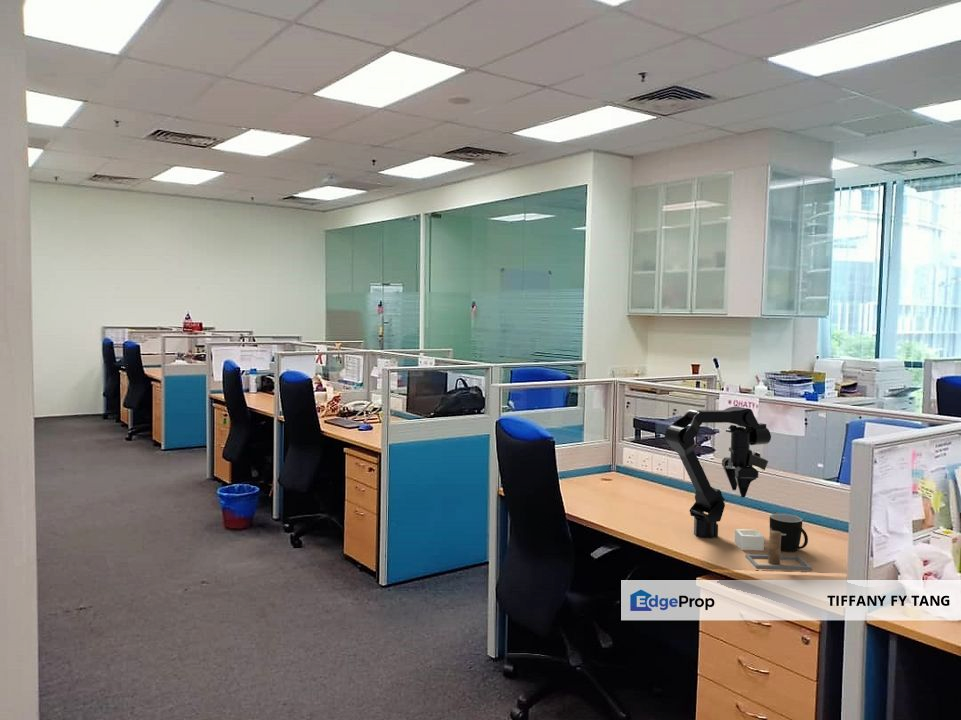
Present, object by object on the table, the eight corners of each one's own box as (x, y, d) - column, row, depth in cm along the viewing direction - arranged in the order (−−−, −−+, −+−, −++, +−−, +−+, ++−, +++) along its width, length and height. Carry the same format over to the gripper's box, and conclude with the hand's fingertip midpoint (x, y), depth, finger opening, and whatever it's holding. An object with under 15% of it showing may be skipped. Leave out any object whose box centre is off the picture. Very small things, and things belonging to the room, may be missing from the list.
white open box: (741, 552, 206) (741, 535, 206) (734, 545, 213) (734, 529, 212) (763, 553, 206) (764, 536, 206) (756, 545, 212) (756, 529, 212)
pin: (770, 565, 194) (772, 534, 193) (766, 561, 197) (768, 530, 196) (781, 565, 194) (783, 534, 193) (777, 561, 197) (778, 530, 196)
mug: (762, 548, 210) (763, 515, 209) (782, 544, 214) (783, 512, 214) (796, 560, 199) (797, 526, 199) (816, 556, 203) (818, 522, 203)
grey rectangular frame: (755, 570, 191) (755, 565, 191) (745, 559, 200) (745, 554, 200) (811, 572, 190) (811, 567, 190) (798, 561, 199) (798, 556, 199)
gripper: (776, 452, 214) (774, 501, 215) (755, 441, 232) (754, 487, 233) (739, 451, 214) (737, 500, 215) (722, 440, 233) (720, 486, 234)
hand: (738, 493), depth 224 cm, fingers open, 9 cm apart
